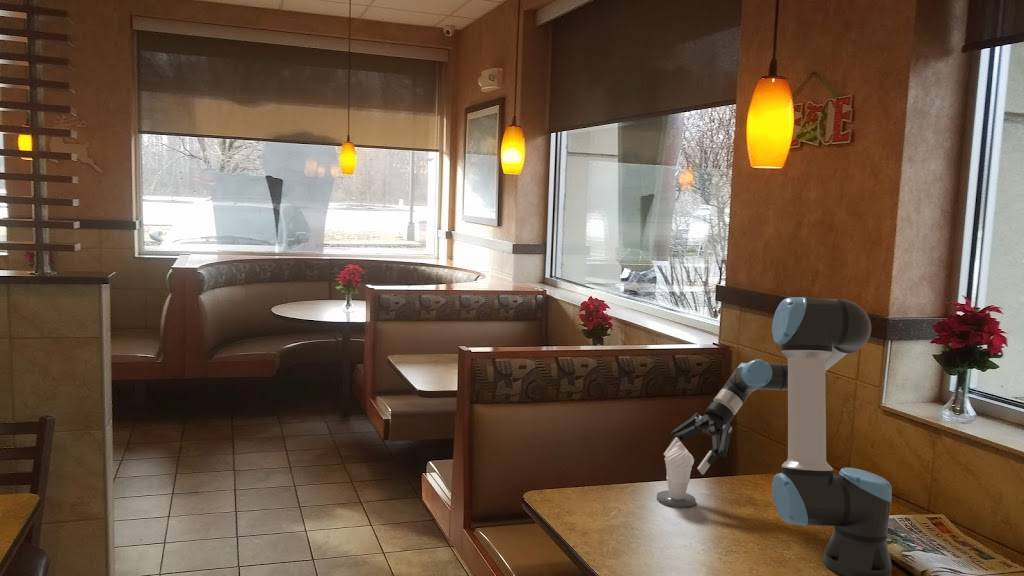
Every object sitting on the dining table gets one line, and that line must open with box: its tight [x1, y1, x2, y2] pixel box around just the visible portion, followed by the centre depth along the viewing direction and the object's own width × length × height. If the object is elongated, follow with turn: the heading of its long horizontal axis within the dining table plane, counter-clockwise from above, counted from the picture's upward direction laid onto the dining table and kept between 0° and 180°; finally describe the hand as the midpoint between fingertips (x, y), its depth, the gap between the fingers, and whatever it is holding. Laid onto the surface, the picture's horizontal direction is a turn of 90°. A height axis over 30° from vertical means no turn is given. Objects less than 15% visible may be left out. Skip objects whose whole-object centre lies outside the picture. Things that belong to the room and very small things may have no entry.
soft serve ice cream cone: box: [663, 442, 695, 500], centre depth 232 cm, size 8×8×16 cm
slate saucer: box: [656, 490, 697, 509], centre depth 233 cm, size 11×11×1 cm
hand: (682, 464), depth 233 cm, fingers open, 13 cm apart
